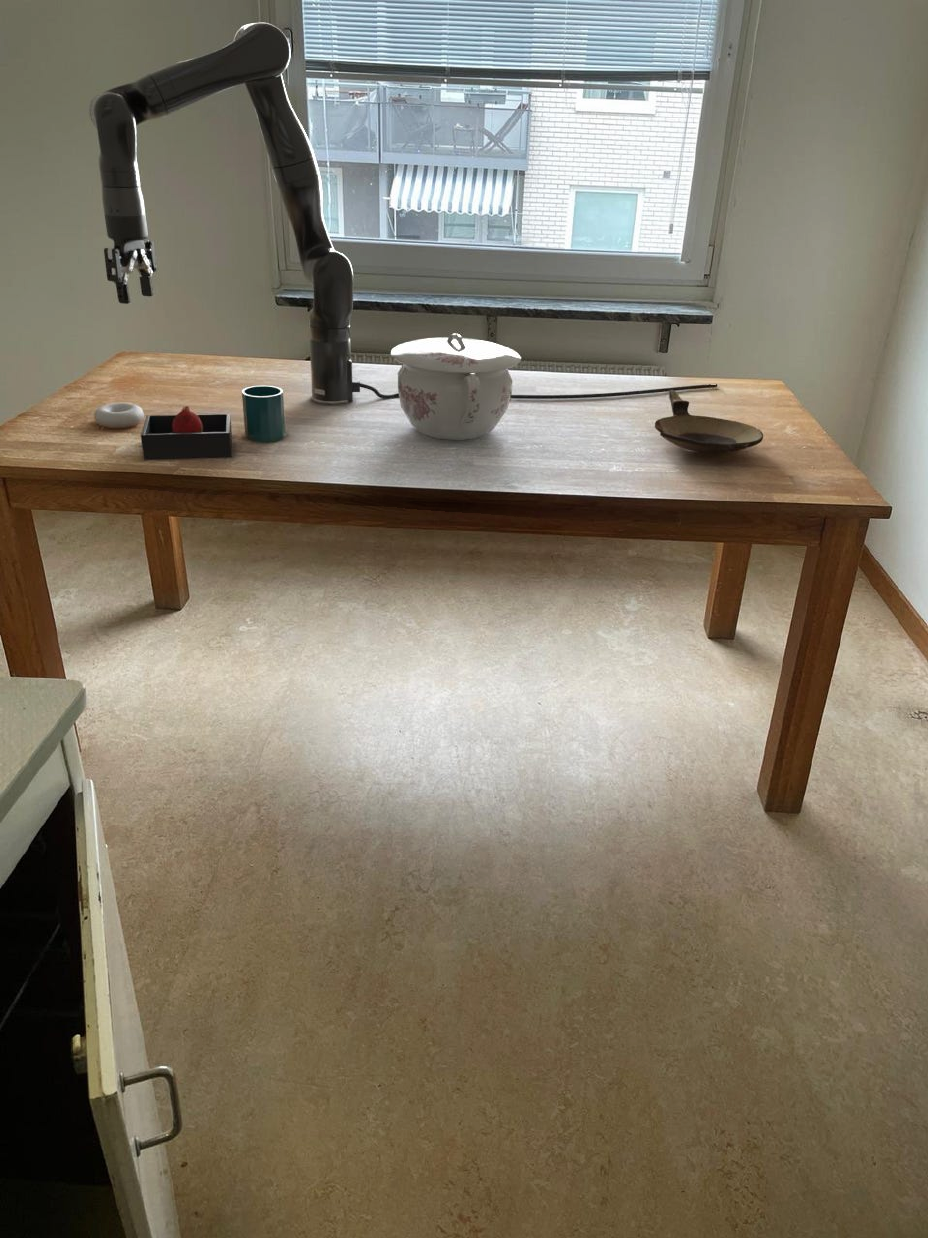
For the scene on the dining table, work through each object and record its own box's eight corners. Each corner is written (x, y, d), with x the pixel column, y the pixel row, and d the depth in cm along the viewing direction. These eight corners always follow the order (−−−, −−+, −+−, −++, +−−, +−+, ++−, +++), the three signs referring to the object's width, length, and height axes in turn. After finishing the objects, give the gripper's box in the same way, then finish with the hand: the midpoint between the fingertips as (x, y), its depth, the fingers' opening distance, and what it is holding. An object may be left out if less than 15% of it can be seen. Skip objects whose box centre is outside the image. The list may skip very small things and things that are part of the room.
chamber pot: (427, 404, 211) (429, 313, 201) (534, 425, 201) (542, 331, 191) (364, 436, 189) (363, 337, 179) (481, 462, 179) (488, 357, 169)
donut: (125, 433, 185) (154, 419, 193) (122, 417, 183) (152, 403, 191) (85, 426, 187) (115, 412, 195) (82, 410, 186) (113, 397, 194)
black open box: (232, 436, 186) (230, 413, 183) (231, 457, 175) (229, 432, 173) (149, 438, 182) (146, 414, 180) (144, 460, 172) (140, 435, 169)
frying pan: (657, 465, 182) (663, 428, 178) (646, 420, 208) (651, 387, 204) (768, 473, 181) (777, 437, 177) (743, 427, 206) (750, 394, 202)
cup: (284, 429, 191) (282, 385, 186) (286, 442, 184) (283, 396, 180) (245, 430, 190) (241, 385, 185) (245, 443, 183) (241, 397, 178)
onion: (200, 451, 176) (195, 411, 172) (170, 449, 176) (165, 410, 172) (207, 441, 181) (203, 402, 177) (179, 440, 181) (174, 401, 177)
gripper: (121, 217, 166) (134, 307, 174) (161, 209, 178) (171, 294, 186) (85, 214, 167) (99, 304, 175) (127, 207, 179) (138, 291, 187)
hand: (136, 299), depth 181 cm, fingers open, 8 cm apart
